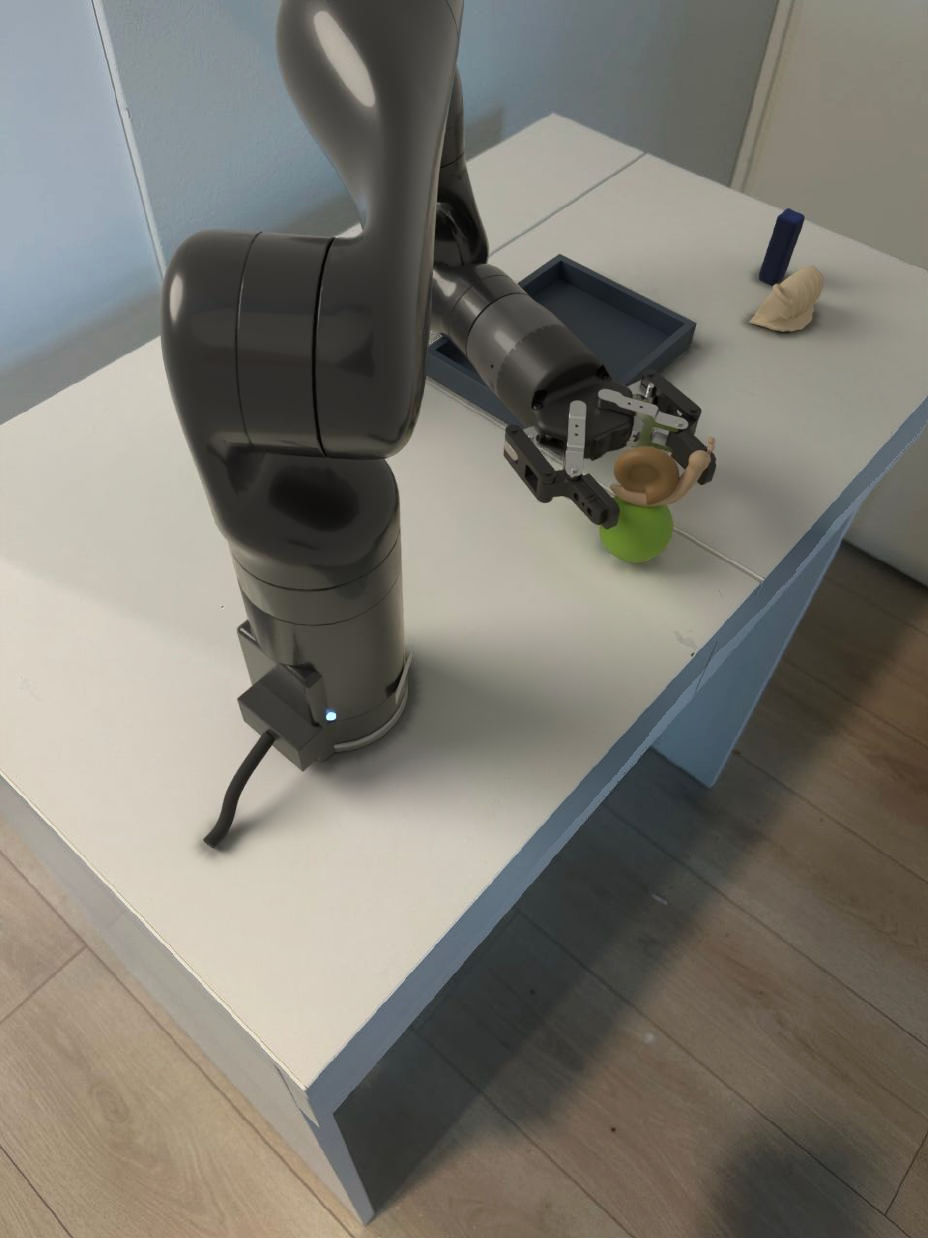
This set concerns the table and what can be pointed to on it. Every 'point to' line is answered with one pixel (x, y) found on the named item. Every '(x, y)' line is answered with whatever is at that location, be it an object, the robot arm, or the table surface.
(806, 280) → the beige curved piece
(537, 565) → the table surface
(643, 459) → the snail figurine
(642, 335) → the tray
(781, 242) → the eraser
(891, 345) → the table surface
